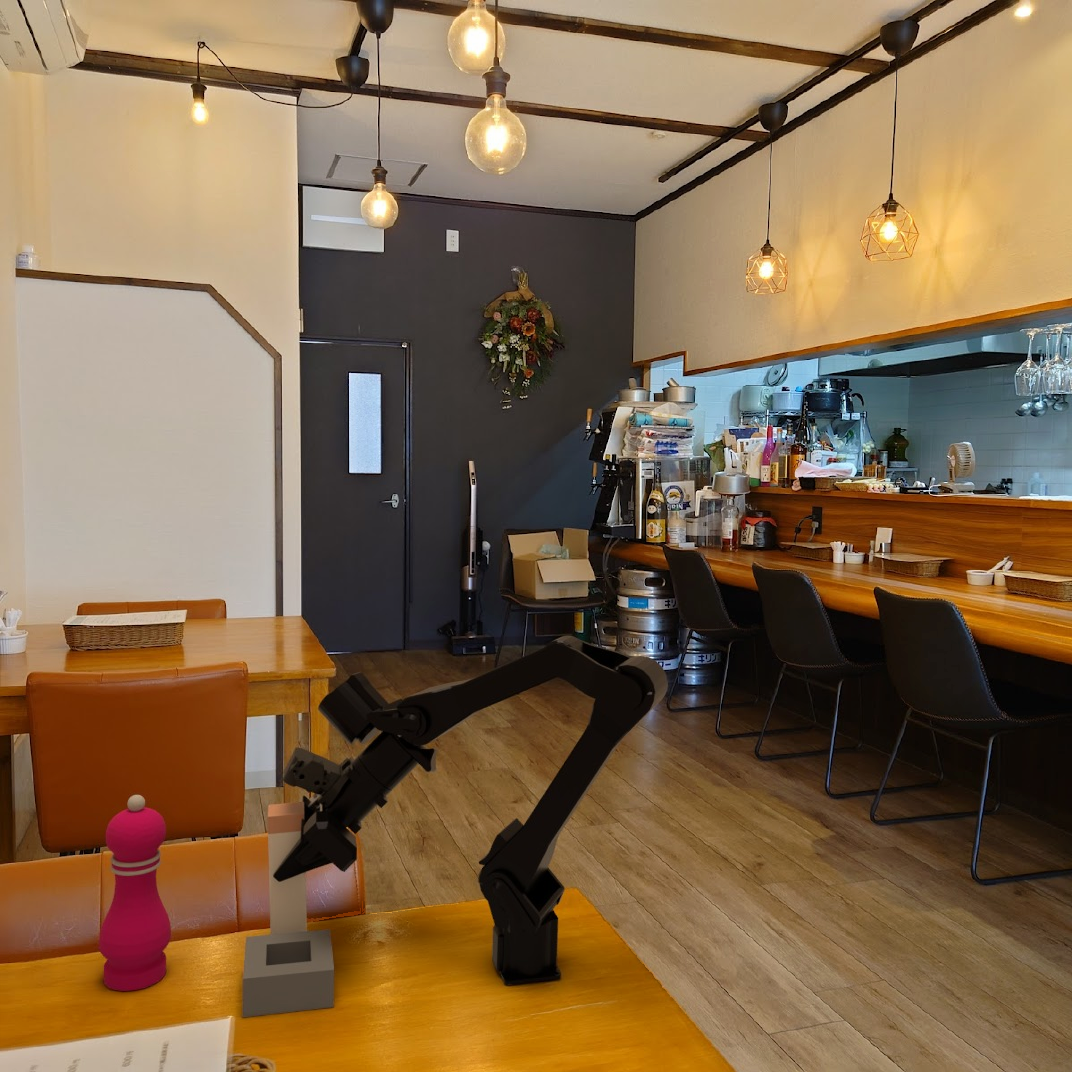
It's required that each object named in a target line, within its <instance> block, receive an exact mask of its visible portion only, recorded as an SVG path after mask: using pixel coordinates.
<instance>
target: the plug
mask: <svg viewBox="0 0 1072 1072" xmlns="http://www.w3.org/2000/svg"><path fill="white" fill-rule="evenodd" d="M302 819H304V802H302V801H297V802H287V803H285V802H284V803H275V804H268V809H267V836H268V837H267V838H268V839H267V842H268V843H267V844H268V880H269V883H268V884H269V886H268V887H269V921H270V923H269V925H270V926H269V927H270V929H269V930H270V935H272V934H283V933H294V932H305V931H308V927H307V926H308V925H307V923H308V922H307V885H306V884H307V883H306V882H307V879H306V878H307V877H306V873H307V872H305V873H302V874H299V875H297V876H294V877H292V878H289V879H286V880H284V881H281V882H278V881H277V880H276V879H275V878H274V877H273V875H274V873H275V871H276V870H277V869H278V867H279V866H280V864H281V863H282V862H283V860H284V859H285V858H286V856H287V855H288V854H289V852H290V851H291V850H292V848H293V847H294V846H295V844H296V843H297V842H298V840H299V839H300V837H301V820H302Z"/></svg>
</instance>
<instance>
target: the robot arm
mask: <svg viewBox="0 0 1072 1072" xmlns="http://www.w3.org/2000/svg"><path fill="white" fill-rule="evenodd" d="M557 678H559V679H561V680H564V681H565V682H567V683H569V684H570V685H571V686H572V687H574V688H576V689H577V690H578V691H580V692H582V693H583V694H584V695H585V696H588V697H589V698H592V699H594V701H593V705H592V708H591V712H590V715H589V718H588V719H589V720H588V722H587V723H588V724H587V726H586V728H585V729H584V732H583V733H582V734H581V736H580V738H579V739H578V740H577V742H576V743H575V746H574V747H573V748H572V750H571V752H570V753H568V756H567V758H566V759H565V761H564V762H563V764H562V765H561V767H560V768H559V770H558V771H557V773H556V774H555V776H554V778H553V779H552V780H551V782H550V783H549V785H548V787H547V788H546V790H545V791H544V793H543V794H542V796H541V798H540V800H539V801H538V802H537V804H536V805H535V806H534V809H533V810H532V812H531V813H530V815H529V816H528V818H527V820H525V822H524V824H523V823H522V822H521V821H520V820H519V818H517V817H516V818H514V819H513V820H512V821H511V822H510V823H509V824H508V825H506V826H505V827H504V828H503V829H502V830H501V831H499V832H498V834H496V836H495V838H494V840H493V842H492V845H491V847H490V849H489V851H488V853H487V854H485V856H484V855H483V857H482V858H481V859H480V860H479V861H478V864H479V865H481V866H482V868H481V869H480V871H479V873H478V880H477V883H479V887H480V891H481V893H482V895H483V897H484V898H485V900H486V901H487V903H488V906H489V910H490V913H491V917H492V920H493V923H494V926H493V927H492V945H491V946H492V948H491V949H492V950H491V951H492V952H491V953H492V954H491V956H492V957H491V961H492V962H493V965H494V967H495V968H494V969H495V970H496V971H497V972H498V973H499V975H500V976H501V979H502V982H503V983H504V984H505V985H517V984H526V983H536V982H544V981H554V980H555V981H556V980H559V979H561V978H562V972H561V970H560V968H559V967H558V963H557V962H558V942H559V941H558V940H559V937H558V936H559V917H558V915H557V913H556V912H555V911H554V908H555V907H556V906H557V905H559V903H561V899H562V897H563V896H564V892H565V886H564V885H563V884H562V883H561V881H560V880H559V879H558V878H557V876H556V875H555V873H553V871H552V870H551V869H550V867H549V866H550V864H551V861H552V858H553V856H554V853H555V849H556V845H557V841H558V838H559V836H560V834H561V833H562V831H563V829H564V828H565V826H566V825H567V824H568V822H569V821H570V818H571V817H572V816H573V815H574V813H575V811H576V810H577V808H579V807H578V806H580V804H581V802H582V801H583V799H584V798H585V796H586V795H587V793H588V792H589V791H590V788H591V787H592V786H593V784H594V783H595V781H596V780H597V778H598V776H599V775H600V774H601V772H602V770H603V769H604V767H605V766H606V765H607V763H608V761H609V760H610V758H611V757H612V755H613V754H614V752H615V751H616V749H617V748H618V746H619V745H620V743H621V742H622V740H623V739H625V737H626V736H627V735H628V734H629V733H631V731H632V730H633V729H635V727H637V725H638V724H640V722H641V721H643V719H644V718H645V717H646V716H647V715H648V714H649V713H650V712H651V711H652V710H653V709H654V708H655V707H656V706H657V705H658V704H659V703H661V701H662V699H663V698H664V697H665V696H666V693H667V691H668V688H669V687H668V686H669V681H668V676H667V673H666V672H665V669H664V668H663V666H662V665H661V664H660V663H659V662H658V661H657V660H655V659H653V658H651V657H650V656H644V655H637V656H632V657H631V656H630V655H627V654H624V653H622V652H619V651H616V650H613V649H609V648H606V647H604V646H603V647H602V646H599V645H595V644H592V643H590V642H587V641H584V640H581V639H580V638H577V637H575V636H573V635H563V636H561V637H558V638H556V639H554V640H552V641H550V642H548V643H547V644H546V645H544V646H543V647H541V648H539V649H537V650H535V651H533V652H530V653H528V654H526V655H524V656H521V657H518V658H516V659H514V660H512V661H510V662H507V663H505V664H503V665H501V666H499V667H496V668H494V669H491V670H490V671H487V672H485V673H483V674H480V675H478V676H475V677H473V678H469V679H464V680H459V681H458V680H457V681H452V682H448V683H443V684H438V685H435V686H430V687H428V688H426V689H422V690H420V691H419V692H416V693H414V694H411V695H408V696H407V697H405V698H399V699H396V700H394V701H392V702H390V703H389V702H388V701H387V700H386V699H385V698H384V697H383V695H381V694H380V692H379V691H378V690H377V689H376V688H375V686H373V685H372V684H371V682H370V680H369V678H368V677H366V675H365V673H363V672H362V671H359V672H356V673H351V675H350V676H349V677H348V678H347V679H346V680H345V681H344V682H342V683H340V684H339V685H338V686H337V687H336V688H334V689H333V691H331V692H329V693H328V694H326V695H325V696H324V698H323V699H322V700H321V701H320V702H319V705H318V708H317V710H318V711H319V713H320V714H321V715H322V716H323V717H324V718H325V719H326V720H327V721H328V722H329V724H330V725H331V726H332V727H333V728H334V729H335V730H336V731H337V732H338V734H340V736H341V737H342V738H343V739H344V740H345V741H346V742H347V743H348V744H349V745H354V744H355V743H356V742H357V741H358V742H359V744H361V745H365V744H367V743H368V742H369V741H371V740H372V739H373V738H374V737H375V736H376V735H377V734H378V733H379V734H378V735H377V737H375V738H374V739H373V740H372V741H371V743H369V744H368V745H367V746H366V747H365V748H364V749H363V751H361V752H360V753H359V754H358V755H357V756H356V757H355V758H353V757H349V758H348V757H346V758H345V759H344V760H343V761H342V762H341V763H339V764H338V763H337V762H333V761H331V760H330V759H329V758H326V757H323V756H321V755H319V754H316V753H314V752H313V751H312V752H311V751H309V750H306V749H305V748H302V747H297V746H296V747H294V750H293V752H292V754H291V756H290V759H289V760H288V762H287V764H286V765H285V768H284V770H283V777H282V781H283V782H284V783H285V784H286V785H288V786H291V787H293V788H295V787H298V788H301V789H303V790H305V791H306V792H307V793H308V794H309V793H312V794H313V795H312V796H310V797H307V796H306V795H302V797H301V798H302V799H301V802H304V819H302V820H301V837H300V839H299V840H298V842H297V843H296V844H295V846H294V847H293V848H292V850H291V851H290V852H289V854H288V855H287V856H286V858H285V859H284V860H283V862H282V863H281V864H280V866H279V867H278V869H277V870H276V871H275V873H274V875H273V877H274V878H275V879H276V880H277V881H278V882H281V881H284V880H286V879H289V878H292V877H294V876H297V875H299V874H302V873H305V872H306V873H307V872H310V871H312V870H315V869H319V868H322V867H324V866H327V865H331V864H333V865H334V866H335V867H336V868H337V869H338V870H339V871H341V872H344V873H345V872H346V871H347V870H349V868H350V867H351V866H352V865H353V864H354V863H355V862H356V861H357V859H358V856H357V855H358V846H357V837H356V834H357V833H358V832H359V831H361V829H362V821H363V820H364V819H366V817H367V816H368V815H369V814H370V813H371V812H372V811H373V810H374V809H375V808H376V807H377V806H378V807H379V808H380V809H382V808H383V807H384V806H385V805H386V804H387V803H388V798H387V797H388V795H389V794H390V793H392V791H393V790H395V788H396V787H397V786H398V785H399V784H400V783H401V782H402V781H403V780H404V779H405V778H406V777H407V776H408V775H409V774H410V773H411V772H412V771H413V770H415V768H416V767H417V766H418V765H419V766H420V767H422V769H423V770H424V771H425V772H427V773H435V772H436V771H437V762H436V761H437V754H438V749H437V748H433V747H431V748H427V747H426V746H425V745H427V744H430V743H432V742H433V741H435V740H436V739H438V738H440V737H442V736H444V735H445V734H448V733H449V732H451V731H453V730H454V729H456V728H458V727H459V726H460V725H461V724H463V723H465V722H466V721H468V720H470V718H472V717H473V716H474V715H476V714H477V713H478V712H479V711H481V710H483V709H486V708H488V707H491V706H493V705H495V704H498V703H501V702H502V701H505V700H507V699H509V698H512V697H514V696H517V695H519V694H521V693H523V692H526V691H528V690H530V689H533V688H535V687H537V686H540V685H542V684H545V683H546V682H550V681H552V680H553V679H554V680H555V679H557ZM380 732H381V733H380Z"/></svg>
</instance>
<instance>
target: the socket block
mask: <svg viewBox="0 0 1072 1072" xmlns="http://www.w3.org/2000/svg"><path fill="white" fill-rule="evenodd" d="M331 936H332V935H331V929H329V928H328V929H327V928H326V929H319V930H307V931H305V932H294V933H283V934H272V935H271V934H263V935H262V934H261V935H250V936H246V937H245V947H244V958H243V959H244V960H243V972H242V973H243V974H242V1008H241V1009H242V1010H241V1011H242V1015H241V1017H242V1018H248V1017H249V1018H250V1017H257V1016H267V1015H268V1016H269V1015H274V1014H275V1015H276V1014H283V1013H284V1014H286V1013H293V1012H300V1011H301V1012H302V1011H303V1012H305V1011H311V1010H319V1009H330V1008H334V1005H335V1004H334V1000H335V999H334V998H335V997H334V996H335V993H334V992H335V989H334V988H335V965H334V956H333V946H332V945H333V944H332V939H331V938H332V937H331Z"/></svg>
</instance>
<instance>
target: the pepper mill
mask: <svg viewBox="0 0 1072 1072" xmlns="http://www.w3.org/2000/svg"><path fill="white" fill-rule="evenodd" d="M166 834H167V826H166V822H165V819H164V817H163V816H162V815H161V813H159V812H158V811H157V810H155V809H153V808H149V807H146V800H145V798H144V796H142V795H140V794H133V795H131V796H130V797H129V798H128V800H127V809H124V810H122V811H120V812H118V813H117V814H116V815H114V816H113V817H112V819H111V820H110V821H109V822H108V825H107V827H106V831H105V844H106V846H107V847H106V848H108V850H109V851H110V852H111V853H112V855H111V857H110V863H111V865H110V871H111V873H113V874H114V882H115V883H114V893H113V898H112V901H111V904H110V907H109V909H108V912H107V913H106V916H105V917H104V920H103V922H102V925H101V927H100V931H99V936H98V937H99V938H98V949H99V952H100V954H101V956H103V958H105V959H106V961H105V962H104V964H103V983H104V985H105V986H106V988H107V987H108V988H109V989H110V990H115V991H119V992H131V991H138V990H141V989H146V988H149V987H151V986H154V985H155V984H156V983H158V982H160V981H161V980H162V979H163V978H164V976H165V974H166V972H167V955H166V953H165V952H164V950H165V949H166V948H167V946H168V945H169V944H170V941H171V939H172V938H171V937H172V927H171V921H170V917H169V914H168V912H167V910H166V908H165V906H164V904H163V902H162V899H161V897H160V893H159V890H158V885H157V883H158V882H157V869H158V868H159V867H160V866H161V863H162V860H161V856H162V852H161V850H160V849H159V848H160V847H161V846H162V844H163V843H164V841H165V840H166V839H165V838H166Z"/></svg>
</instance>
